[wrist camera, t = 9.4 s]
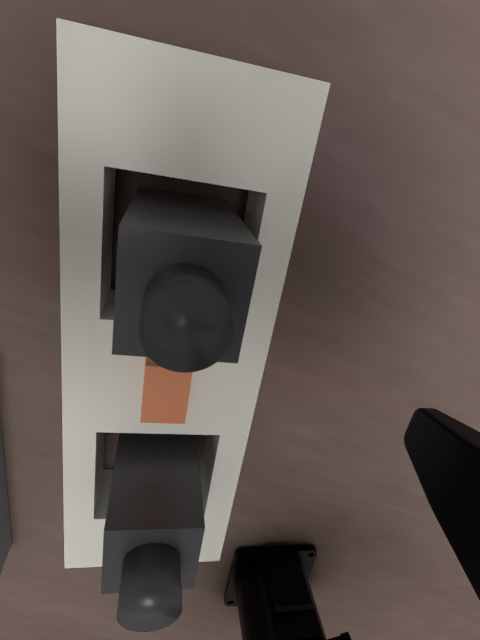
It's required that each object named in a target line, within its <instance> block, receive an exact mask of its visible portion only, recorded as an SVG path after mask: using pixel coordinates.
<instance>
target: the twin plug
mask: <svg viewBox="0 0 480 640" xmlns="http://www.w3.org/2000/svg"><path fill="white" fill-rule="evenodd" d="M204 531H205V522H204V511H203V500H202V489H201V478H200V467H199V456H198V445H197V435H190V434H147V433H120V434H119V440H118V446H117V452H116V458H115V465H114V471H113V477H112V483H111V489H110V495H109V502H108V508H107V514H106V520H105V526H104V536H103V559H102V582H101V594H106V593H119V600H118V609H117V621H118V622H119V624H120V625H121V626H122V627H124V628H126V629H128V630H131V631H137V632H149V631H155V630H159V629H162V628H165V627H167V626H169V625H170V624H172V623H173V622H175V621H176V620H177V619H178V618H179V616H180V614H181V612H182V595H181V589H185V588H193V587H194V582H195V576H196V571H197V566H198V561H199V556H200V551H201V546H202V541H203V536H204Z"/></svg>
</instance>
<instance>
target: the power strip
mask: <svg viewBox="0 0 480 640" xmlns="http://www.w3.org/2000/svg"><path fill="white" fill-rule="evenodd" d="M56 28H57V95H58V162H59V228H60V295H61V362H62V429H63V496H64V563H65V568H82V567H102V559H103V536H104V526H105V520H106V514H107V508H108V502H109V495H110V489H111V483H112V477H113V471H114V469H103V464H104V440H105V433H147V434H190V435H206V437H205V443H204V449H203V454H202V460H201V466H200V478H201V489H202V500H203V511H204V522H205V531H204V536H203V541H202V546H201V551H200V556H199V561H198V562H206V561H219V560H220V556H221V552H222V547H223V543H224V539H225V535H226V530H227V526H228V522H229V517H230V513H231V509H232V504H233V500H234V496H235V492H236V487H237V483H238V479H239V474H240V470H241V466H242V462H243V457H244V453H245V449H246V444H247V440H248V436H249V431H250V427H251V423H252V419H253V414H254V410H255V406H256V401H257V397H258V393H259V388H260V384H261V380H262V376H263V371H264V367H265V363H266V358H267V354H268V350H269V345H270V341H271V337H272V333H273V328H274V324H275V320H276V315H277V311H278V307H279V303H280V298H281V294H282V290H283V285H284V281H285V277H286V272H287V268H288V264H289V260H290V255H291V251H292V247H293V242H294V238H295V234H296V229H297V225H298V221H299V217H300V212H301V208H302V204H303V199H304V195H305V191H306V186H307V182H308V178H309V174H310V169H311V165H312V161H313V156H314V152H315V148H316V144H317V139H318V135H319V131H320V126H321V122H322V118H323V113H324V109H325V105H326V101H327V96H328V92H329V88H330V83H328V82H324V81H320V80H315V79H311V78H307V77H303V76H299V75H294V74H290V73H286V72H282V71H278V70H273V69H269V68H265V67H261V66H257V65H252V64H248V63H244V62H240V61H236V60H231V59H227V58H223V57H219V56H215V55H210V54H206V53H202V52H198V51H194V50H190V49H185V48H181V47H177V46H173V45H169V44H164V43H160V42H156V41H152V40H148V39H143V38H139V37H135V36H131V35H127V34H122V33H118V32H114V31H110V30H106V29H101V28H97V27H93V26H89V25H85V24H80V23H76V22H72V21H68V20H64V19H60V18H56ZM116 168H118V169H124V170H130V171H136V172H143V173H149V174H155V175H161V176H167V177H173V178H179V179H185V180H191V181H197V182H203V183H209V184H215V185H221V186H227V187H233V188H239V189H245V190H249V193H248V199H247V204H246V210H245V216H244V221H243V222H244V224H245V225H246V226H247V227H248V229H249V230H250V231H251V233H252V234H253V235H254V236H255V238H256V239H257V240H258V241H259V243H260V244H261V245H262V249H261V254H260V258H259V263H258V268H257V273H256V278H255V283H254V287H253V292H252V297H251V302H250V307H249V312H248V316H247V321H246V326H245V331H244V336H243V341H242V345H241V350H240V355H239V360H238V363H224V362H217V363H215V364H214V365H212V366H210V367H208V368H206V369H203V370H200V371H196V372H189V373H181V372H174V371H170V370H167V369H164V368H162V367H160V366H159V365H157V364H156V363H154V362H153V361H152V360H151V359H150V358H149V357H139V356H125V355H112V340H113V321H114V302H115V289H111V269H112V245H113V221H114V196H115V172H116Z"/></svg>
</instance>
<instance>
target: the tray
mask: <svg viewBox="0 0 480 640" xmlns="http://www.w3.org/2000/svg"><path fill="white" fill-rule="evenodd" d="M11 544H12V536H11V525H10V515H9V505H8V494H7V484H6V473H5V463H4V452H3V442H2V432H1V433H0V574H1V571H2V568H3V566H4V563H5V560H6V558H7V555H8V552H9V550H10V547H11Z"/></svg>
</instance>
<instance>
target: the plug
mask: <svg viewBox="0 0 480 640" xmlns="http://www.w3.org/2000/svg"><path fill="white" fill-rule="evenodd" d="M261 249H262V245H261V244H260V243H259V241H258V240H257V239H256V238H255V236H254V235H253V234H252V233H251V231H250V230H249V229H248V227H247V226H246V225H245V224H244V222H243V221H242V220H241V219H240V217H239V216H238V215H237V214H236V212H235V211H234V210H233V209H232V207H231V206H230V205H229V204H228V202H227V201H224V200H218V199H212V198H206V197H200V196H194V195H188V194H182V193H176V192H170V191H164V190H157V189H151V188H145V187H138V189H137V191H136V193H135V195H134V197H133V199H132V201H131V203H130V205H129V207H128V208H127V210H126V212H125V214H124V216H123V218H122V220H121V222H120V224H119V228H118V246H117V265H116V284H115V302H114V321H113V340H112V355H125V356H139V357H149V358H150V359H151V360H152V361H153V362H154V363H156V364H157V365H159V366H160V367H162V368H164V369H167V370H170V371H174V372H181V373H189V372H196V371H200V370H203V369H206V368H208V367H210V366H212V365H214V364H215V363H217V362H224V363H238V360H239V355H240V350H241V345H242V341H243V336H244V331H245V326H246V321H247V316H248V312H249V307H250V302H251V297H252V292H253V287H254V283H255V278H256V273H257V268H258V263H259V258H260V254H261Z"/></svg>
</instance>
